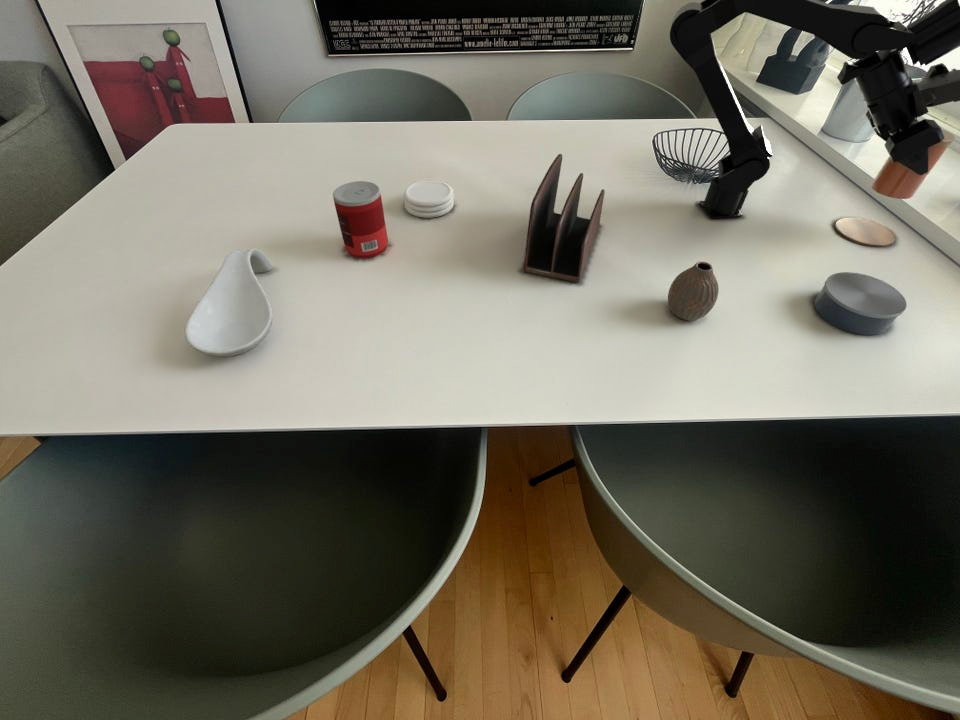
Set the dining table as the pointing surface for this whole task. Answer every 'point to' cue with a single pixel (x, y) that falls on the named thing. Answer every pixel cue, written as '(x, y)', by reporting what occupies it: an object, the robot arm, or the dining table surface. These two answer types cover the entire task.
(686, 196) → the dining table surface
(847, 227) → the mat
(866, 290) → the tin
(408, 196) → the coaster
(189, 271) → the dining table surface
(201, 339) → the spoon rest
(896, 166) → the canister
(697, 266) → the vase
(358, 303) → the dining table surface
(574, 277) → the letter holder
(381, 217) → the canned food
